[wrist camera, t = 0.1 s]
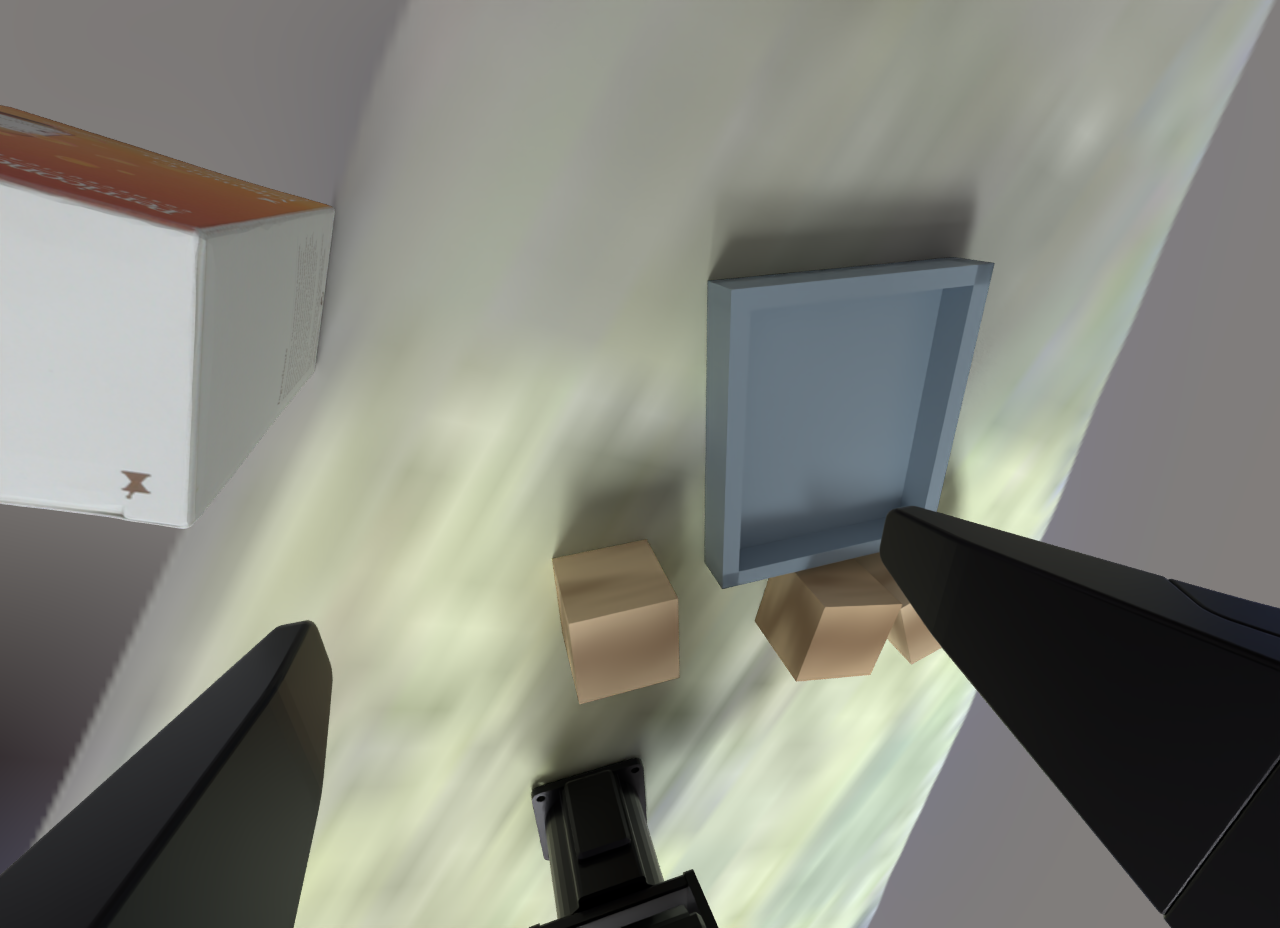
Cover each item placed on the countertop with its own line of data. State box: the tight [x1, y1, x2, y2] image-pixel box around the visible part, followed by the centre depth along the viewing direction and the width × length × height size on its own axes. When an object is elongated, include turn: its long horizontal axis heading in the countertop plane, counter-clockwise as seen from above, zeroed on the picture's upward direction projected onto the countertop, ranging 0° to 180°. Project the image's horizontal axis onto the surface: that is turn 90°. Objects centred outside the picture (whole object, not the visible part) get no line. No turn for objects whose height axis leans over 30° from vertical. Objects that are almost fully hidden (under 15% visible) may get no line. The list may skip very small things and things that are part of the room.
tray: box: [704, 257, 994, 589], centre depth 26 cm, size 14×12×2 cm
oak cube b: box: [755, 558, 902, 681], centre depth 29 cm, size 4×4×4 cm
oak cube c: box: [854, 552, 942, 664], centre depth 30 cm, size 4×4×4 cm
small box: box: [0, 105, 335, 529], centre depth 13 cm, size 8×6×10 cm
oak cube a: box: [552, 539, 679, 704], centre depth 25 cm, size 4×4×4 cm
